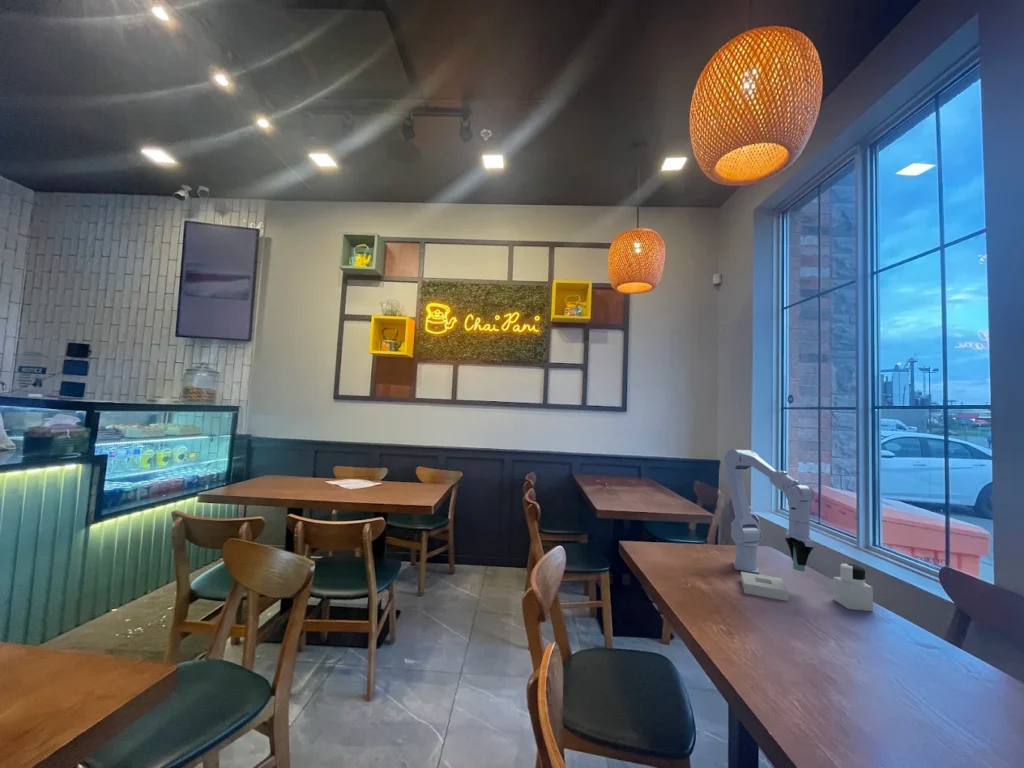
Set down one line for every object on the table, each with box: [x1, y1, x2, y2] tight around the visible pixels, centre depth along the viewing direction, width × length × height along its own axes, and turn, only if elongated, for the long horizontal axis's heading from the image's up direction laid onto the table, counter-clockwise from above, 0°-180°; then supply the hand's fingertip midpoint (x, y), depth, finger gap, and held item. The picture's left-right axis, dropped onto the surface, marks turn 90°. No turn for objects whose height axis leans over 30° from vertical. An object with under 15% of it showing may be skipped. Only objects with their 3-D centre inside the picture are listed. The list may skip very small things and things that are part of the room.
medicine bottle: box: [832, 562, 874, 612], centre depth 133 cm, size 7×7×12 cm
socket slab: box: [740, 571, 789, 602], centre depth 141 cm, size 12×12×3 cm
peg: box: [792, 546, 806, 572], centre depth 143 cm, size 3×3×7 cm
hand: (798, 563), depth 143 cm, fingers closed on peg, 3 cm apart
